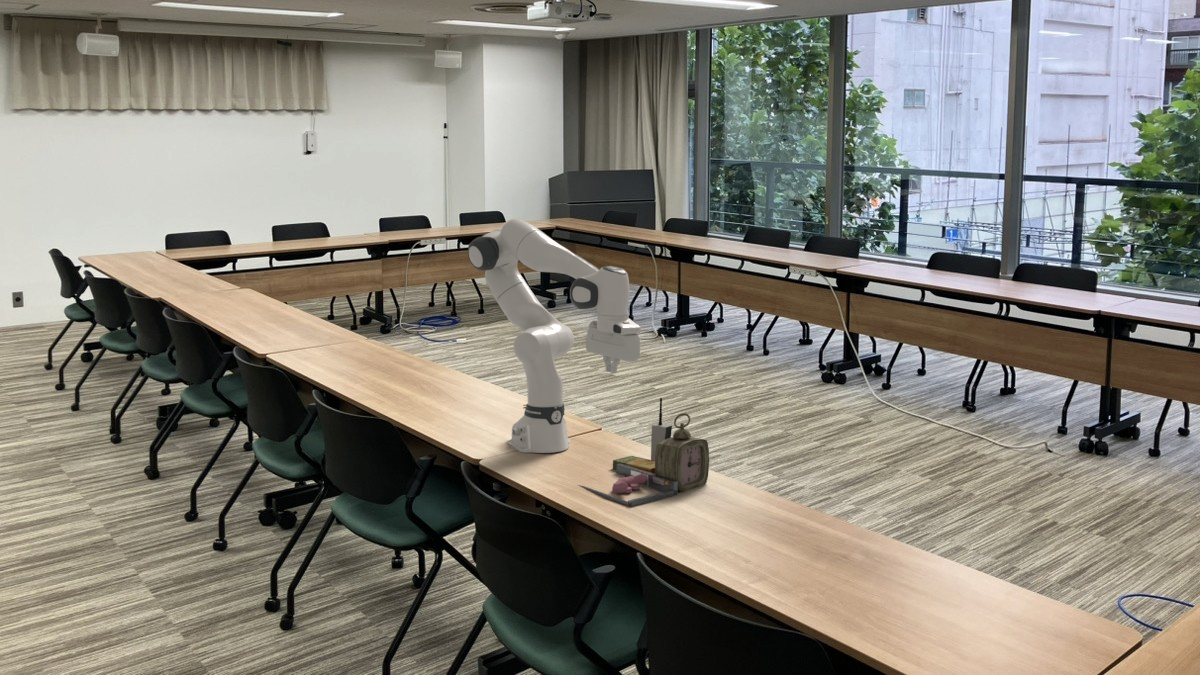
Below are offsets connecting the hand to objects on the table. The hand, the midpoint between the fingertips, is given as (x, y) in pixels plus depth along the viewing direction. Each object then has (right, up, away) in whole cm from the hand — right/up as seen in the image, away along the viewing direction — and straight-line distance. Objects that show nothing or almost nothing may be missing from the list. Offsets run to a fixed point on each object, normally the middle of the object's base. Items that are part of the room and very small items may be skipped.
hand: (611, 372), depth 292 cm
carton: (+13, -34, +6) cm, 37 cm away
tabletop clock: (+20, -37, +2) cm, 42 cm away
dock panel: (+4, -33, -4) cm, 34 cm away
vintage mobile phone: (+15, -33, +18) cm, 41 cm away
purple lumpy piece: (+7, -32, -7) cm, 33 cm away
